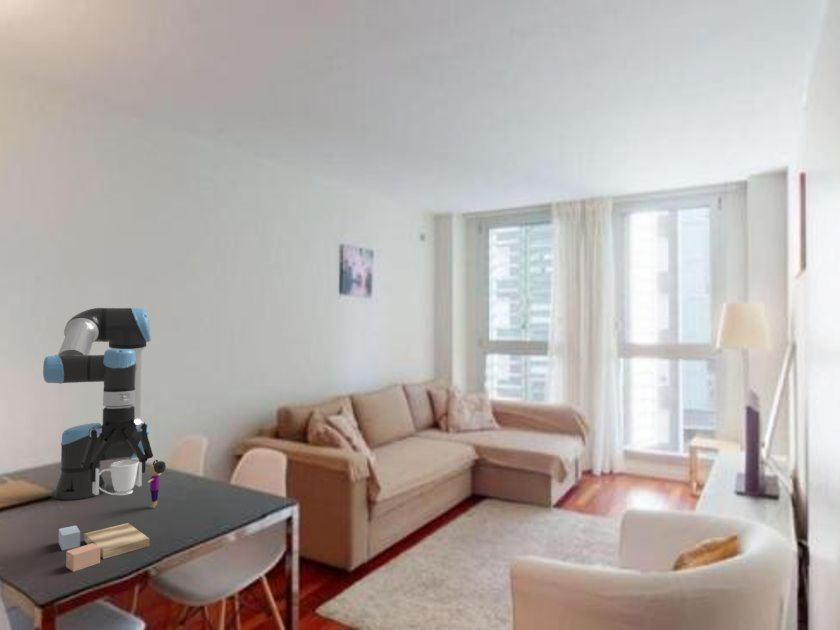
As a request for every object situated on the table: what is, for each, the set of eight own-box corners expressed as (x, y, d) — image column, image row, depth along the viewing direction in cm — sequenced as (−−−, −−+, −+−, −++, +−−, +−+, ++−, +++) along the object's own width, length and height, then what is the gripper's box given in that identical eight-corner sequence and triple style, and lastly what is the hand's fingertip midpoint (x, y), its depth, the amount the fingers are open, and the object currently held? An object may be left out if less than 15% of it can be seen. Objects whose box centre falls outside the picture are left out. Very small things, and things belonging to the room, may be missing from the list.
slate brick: (58, 543, 145) (58, 528, 145) (76, 540, 148) (76, 525, 148) (61, 551, 141) (62, 535, 141) (79, 547, 143) (80, 531, 143)
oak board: (84, 540, 147) (84, 533, 147) (127, 529, 155) (128, 522, 155) (103, 558, 136) (103, 550, 136) (149, 546, 144) (149, 538, 144)
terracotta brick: (73, 572, 129) (73, 555, 129) (66, 567, 131) (66, 551, 131) (100, 563, 134) (100, 546, 134) (92, 559, 136) (92, 543, 136)
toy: (155, 501, 179) (155, 456, 179) (172, 501, 180) (173, 456, 180) (141, 512, 169) (142, 464, 169) (159, 512, 169) (160, 464, 170)
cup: (140, 494, 145) (140, 463, 145) (96, 500, 140) (97, 469, 140) (136, 487, 151) (137, 458, 151) (95, 493, 146) (95, 463, 146)
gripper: (75, 412, 135) (73, 502, 135) (167, 403, 152) (166, 483, 151) (66, 409, 140) (65, 495, 140) (156, 400, 157) (155, 478, 156)
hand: (117, 489), depth 145 cm, fingers closed on cup, 10 cm apart
